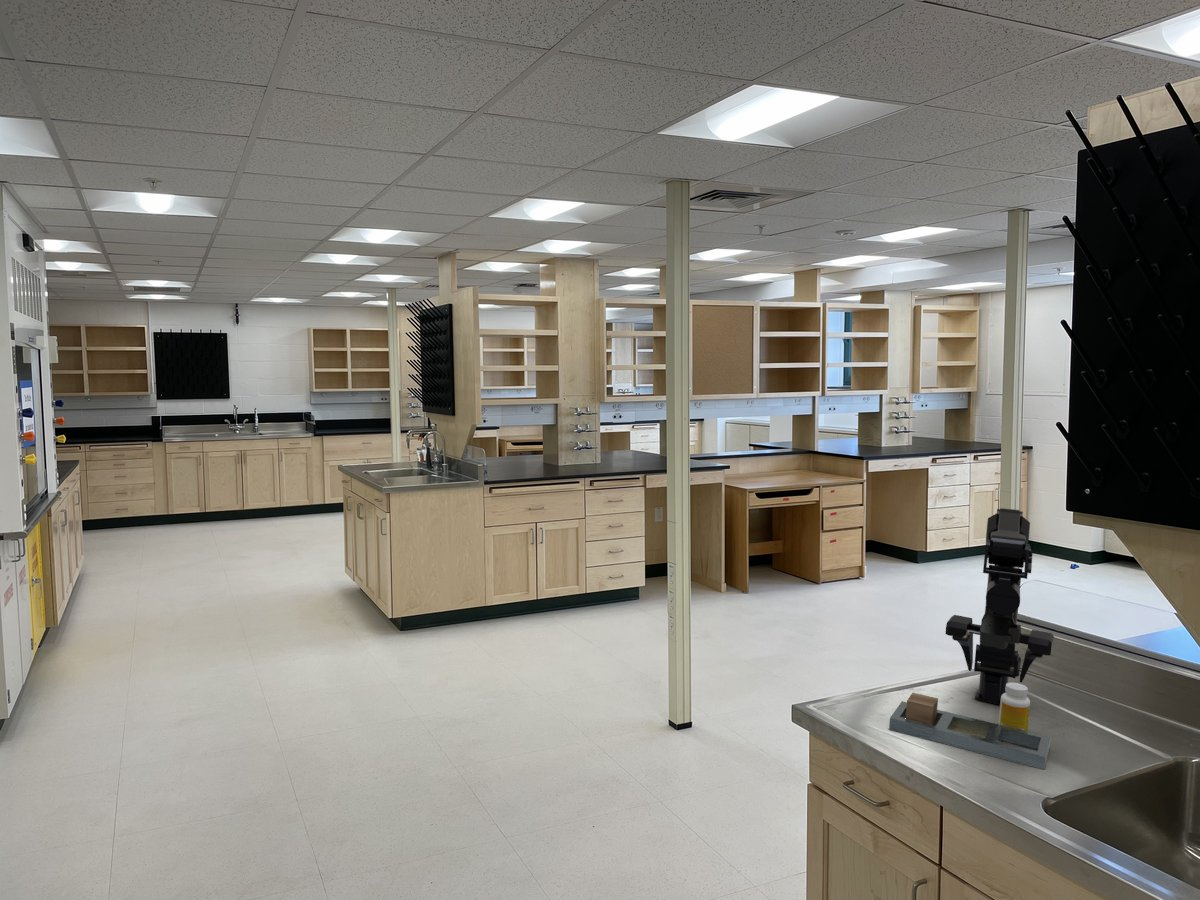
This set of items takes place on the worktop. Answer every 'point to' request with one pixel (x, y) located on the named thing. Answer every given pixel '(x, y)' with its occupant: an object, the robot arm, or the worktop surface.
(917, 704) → the walnut block
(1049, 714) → the worktop surface
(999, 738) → the rail
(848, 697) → the worktop surface
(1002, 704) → the supplement bottle
